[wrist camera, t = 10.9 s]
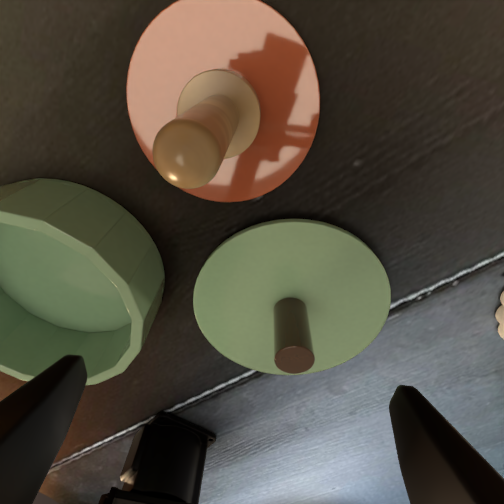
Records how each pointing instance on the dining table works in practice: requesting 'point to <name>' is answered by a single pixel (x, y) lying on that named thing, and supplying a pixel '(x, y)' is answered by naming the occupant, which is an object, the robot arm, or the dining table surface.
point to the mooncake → (501, 316)
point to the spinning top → (242, 62)
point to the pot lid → (291, 297)
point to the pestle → (207, 128)
